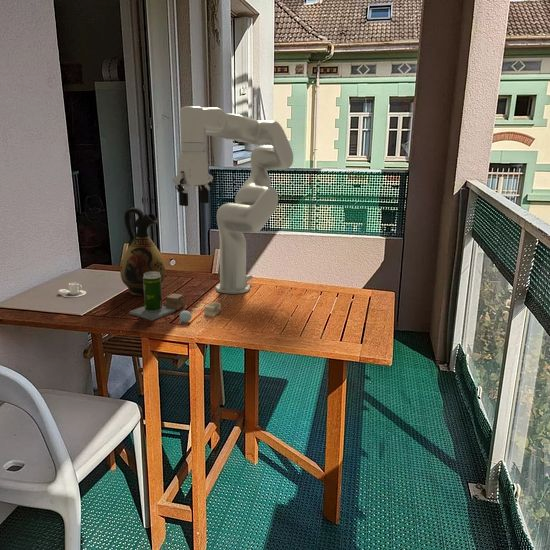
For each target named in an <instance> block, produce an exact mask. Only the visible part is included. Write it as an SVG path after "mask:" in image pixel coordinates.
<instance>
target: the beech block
mask: <svg viewBox="0 0 550 550" xmlns="http://www.w3.org/2000/svg"><path fill="white" fill-rule="evenodd" d="M221 306H222V305H221V302H215V301H212V302H210V303H208V304H206V305H205V306H204V316H209V317H215V316H217V315H218V314H219V313H221V311H222V307H221Z"/></svg>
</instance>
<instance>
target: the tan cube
mask: <svg viewBox="0 0 550 550" xmlns="http://www.w3.org/2000/svg"><path fill="white" fill-rule="evenodd" d="M165 300H166V303H165V304H166V307H169V308H173V309H175V311H179V310H180V309H181V308H183V307H184V306H185V305H184V294H179V293H171V294H169V295H167V296H166V299H165Z"/></svg>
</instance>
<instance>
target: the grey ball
mask: <svg viewBox="0 0 550 550" xmlns="http://www.w3.org/2000/svg"><path fill="white" fill-rule="evenodd" d="M178 318H179V320H180V322H182V323H189V322H190V321H191V320H192V313H191V312H190V311H189V310H182V311H181V312H180V313H179V317H178Z"/></svg>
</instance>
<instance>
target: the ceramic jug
mask: <svg viewBox="0 0 550 550" xmlns="http://www.w3.org/2000/svg"><path fill="white" fill-rule="evenodd" d="M132 215H137V217H138V218H137V219H136V220H134V223H133V225H134V227H135V228H137V230H136V233H135V232H134V228H133V225H132V221H131V216H132ZM123 218H124V225H125V227H126V231H127V234H128V236H129V240H128V244H127V249H126V251H125V253H124V254H123V256H122V259H121V263H120V272H119V273H120V278H121V281H122V283H123V284H124V285H125V286H126V288H128V289H129V290H128V291H129V292H128V293H130V294H131V295H132V296H137V297H144V286H143V276H144V273H145V272H151V271H155V272H159V273H160V276H161V284H163V281H164V280H165V276H166V266H165V262H164V259H163V256H162V253H161V252H160V250H159V248H158V247H157V246H156V244H155V242H154V241H153V240H152V238H151V237H150V235H149V233H148V229H149V227H151V226H153V225H158V224H159V223H160V222H159V219H158V218H157V216H156V215H155V214H153V212H152V213H151V212H150V213H149V214H148V213H145V214H144V212H143V211H142V209H140V208H138V207H134V206H133V207H131V208H128V209H127V210H126V211H125V213H124V216H123Z"/></svg>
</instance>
